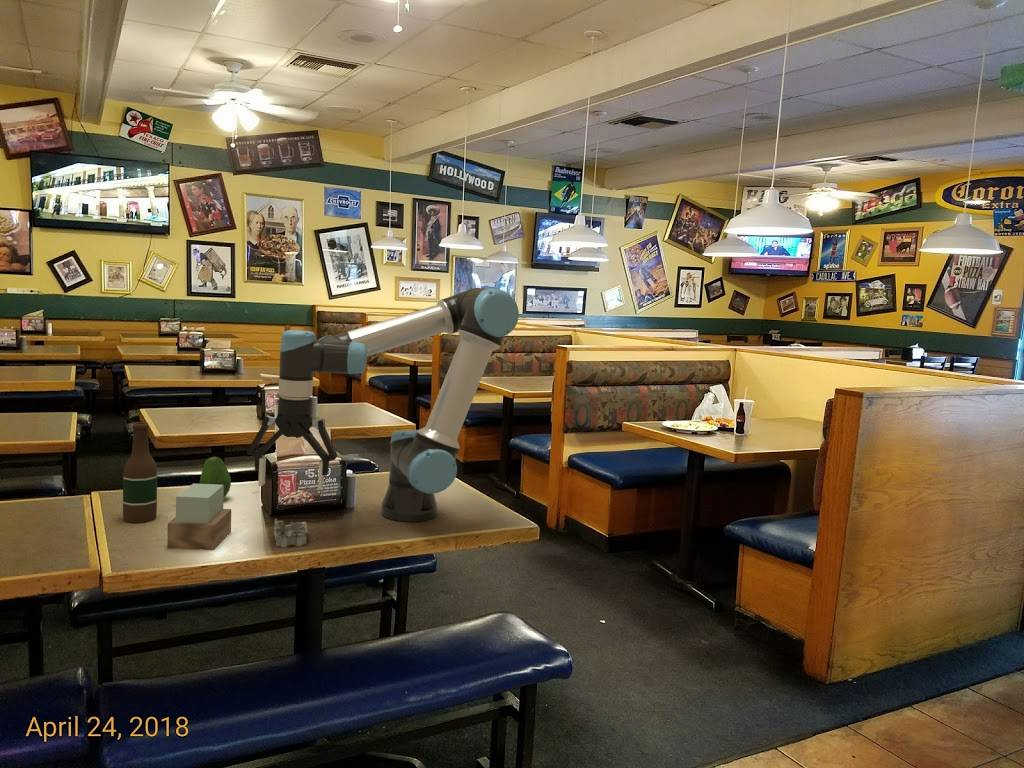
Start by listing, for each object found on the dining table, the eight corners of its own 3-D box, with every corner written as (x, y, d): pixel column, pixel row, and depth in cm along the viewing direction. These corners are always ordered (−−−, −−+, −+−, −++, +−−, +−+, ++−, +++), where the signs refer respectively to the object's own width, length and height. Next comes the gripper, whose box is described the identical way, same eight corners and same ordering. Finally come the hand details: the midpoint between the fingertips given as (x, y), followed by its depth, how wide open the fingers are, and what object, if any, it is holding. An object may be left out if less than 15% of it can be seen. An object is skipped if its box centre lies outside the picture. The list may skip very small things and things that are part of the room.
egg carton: (273, 533, 174) (273, 517, 173) (305, 532, 176) (306, 516, 176) (273, 548, 164) (273, 531, 163) (307, 547, 166) (308, 530, 166)
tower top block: (223, 509, 171) (223, 484, 170) (208, 524, 160) (208, 497, 159) (192, 508, 170) (193, 483, 169) (175, 522, 159) (175, 496, 159)
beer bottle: (151, 511, 183) (152, 419, 180) (162, 520, 177) (163, 424, 174) (117, 516, 177) (118, 421, 174) (128, 525, 172) (128, 427, 169)
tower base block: (230, 533, 172) (231, 509, 171) (213, 551, 160) (214, 525, 159) (187, 531, 171) (188, 507, 171) (167, 549, 159) (167, 523, 159)
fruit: (198, 497, 198) (198, 454, 196) (228, 495, 201) (229, 453, 200) (200, 505, 191) (201, 461, 189) (232, 503, 194) (233, 459, 193)
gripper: (352, 398, 171) (347, 485, 173) (245, 391, 169) (241, 479, 171) (347, 403, 163) (342, 494, 166) (235, 395, 161) (231, 487, 164)
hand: (291, 486), depth 169 cm, fingers open, 13 cm apart
